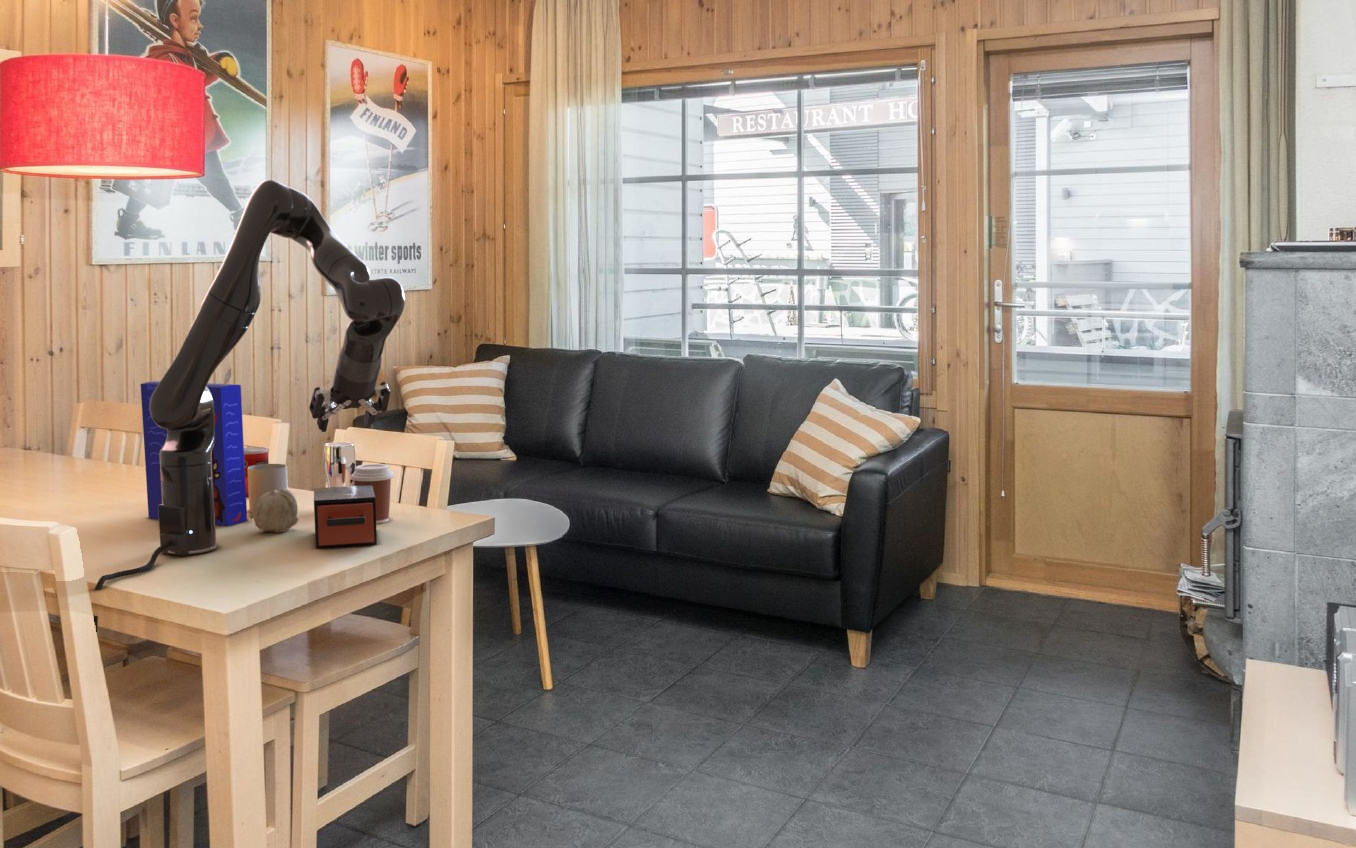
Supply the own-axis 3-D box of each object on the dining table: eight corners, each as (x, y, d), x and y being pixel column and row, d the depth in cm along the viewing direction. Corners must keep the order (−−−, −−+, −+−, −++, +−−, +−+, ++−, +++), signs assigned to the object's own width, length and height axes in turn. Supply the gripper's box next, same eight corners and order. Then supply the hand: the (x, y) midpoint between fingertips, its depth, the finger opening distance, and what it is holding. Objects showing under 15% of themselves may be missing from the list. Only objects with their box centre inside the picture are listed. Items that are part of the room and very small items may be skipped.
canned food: (234, 492, 279) (231, 448, 277) (268, 489, 282) (266, 446, 281) (236, 497, 272) (233, 452, 270) (271, 495, 275) (269, 450, 274)
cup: (241, 511, 256) (239, 468, 255) (270, 505, 263) (268, 462, 262) (268, 515, 252) (266, 471, 251) (296, 508, 259) (294, 465, 258)
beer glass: (348, 512, 255) (345, 446, 253) (320, 511, 257) (317, 445, 255) (362, 506, 262) (360, 442, 260) (335, 505, 263) (332, 441, 261)
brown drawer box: (375, 547, 219) (373, 508, 218) (318, 551, 216) (317, 511, 215) (371, 528, 235) (369, 491, 234) (318, 532, 232) (317, 494, 231)
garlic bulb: (294, 538, 240) (309, 493, 241) (286, 541, 232) (301, 494, 233) (250, 526, 239) (265, 480, 240) (241, 528, 231) (256, 481, 232)
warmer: (376, 544, 225) (375, 497, 224) (315, 548, 222) (313, 500, 220) (373, 529, 238) (372, 485, 237) (315, 533, 235) (314, 488, 233)
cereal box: (247, 520, 247) (240, 383, 243) (227, 526, 241) (220, 386, 238) (169, 512, 255) (161, 380, 251) (148, 518, 249) (140, 382, 245)
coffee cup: (378, 514, 253) (376, 461, 252) (404, 520, 247) (402, 466, 246) (343, 521, 246) (341, 467, 245) (368, 527, 240) (366, 471, 239)
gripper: (390, 350, 213) (375, 409, 224) (313, 355, 205) (302, 415, 216) (402, 378, 209) (386, 437, 220) (325, 384, 201) (312, 445, 212)
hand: (344, 426), depth 218 cm, fingers open, 8 cm apart
